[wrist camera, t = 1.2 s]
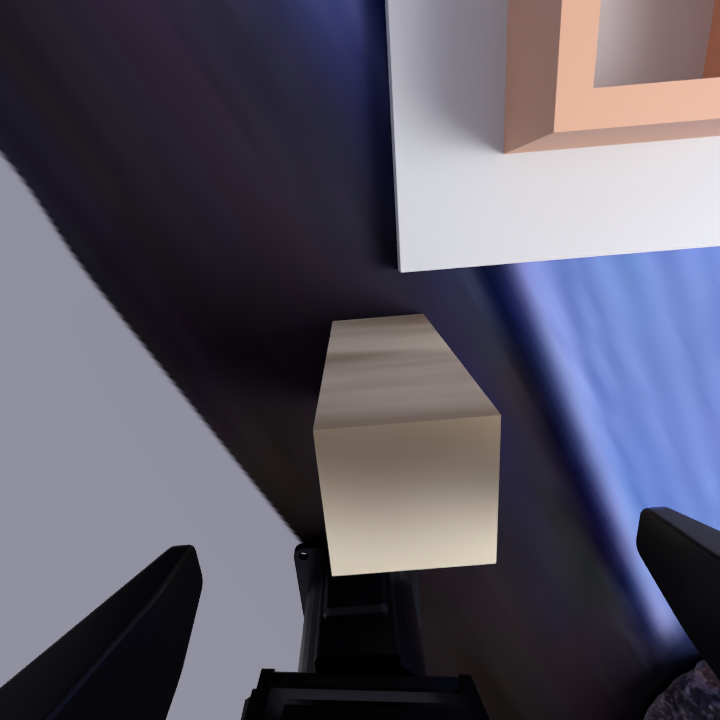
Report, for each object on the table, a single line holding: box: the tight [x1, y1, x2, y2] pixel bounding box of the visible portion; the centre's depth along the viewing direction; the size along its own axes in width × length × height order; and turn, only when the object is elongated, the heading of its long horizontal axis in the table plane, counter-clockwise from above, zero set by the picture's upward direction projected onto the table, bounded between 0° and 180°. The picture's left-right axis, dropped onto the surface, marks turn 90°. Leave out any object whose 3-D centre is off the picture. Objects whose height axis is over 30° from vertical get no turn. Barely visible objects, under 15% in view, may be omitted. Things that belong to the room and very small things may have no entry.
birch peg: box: [313, 314, 501, 576], centre depth 14 cm, size 4×4×10 cm
